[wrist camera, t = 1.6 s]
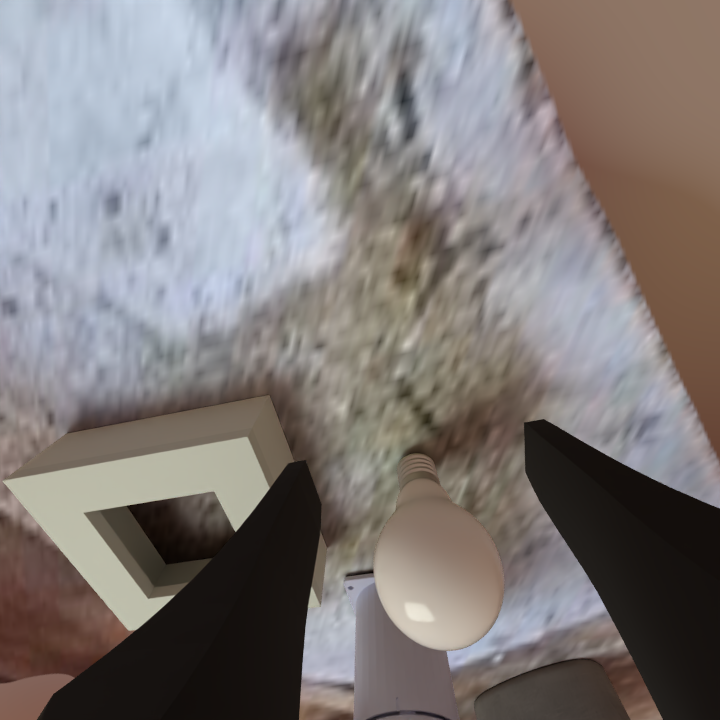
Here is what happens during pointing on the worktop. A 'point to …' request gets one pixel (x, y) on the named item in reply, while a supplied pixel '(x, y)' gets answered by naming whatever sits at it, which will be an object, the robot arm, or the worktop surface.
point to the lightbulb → (436, 564)
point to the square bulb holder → (152, 494)
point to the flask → (554, 695)
